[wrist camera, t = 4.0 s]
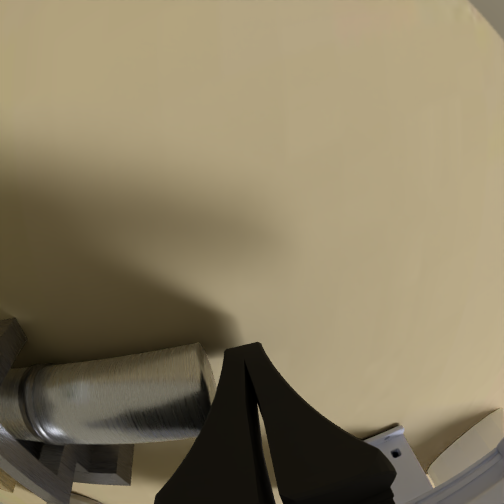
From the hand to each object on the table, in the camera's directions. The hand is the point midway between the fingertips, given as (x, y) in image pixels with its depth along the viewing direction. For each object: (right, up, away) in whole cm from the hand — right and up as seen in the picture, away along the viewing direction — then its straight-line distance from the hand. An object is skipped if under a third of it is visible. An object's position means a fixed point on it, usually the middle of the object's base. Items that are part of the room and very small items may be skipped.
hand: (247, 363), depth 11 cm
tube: (-8, -1, +1) cm, 8 cm away
